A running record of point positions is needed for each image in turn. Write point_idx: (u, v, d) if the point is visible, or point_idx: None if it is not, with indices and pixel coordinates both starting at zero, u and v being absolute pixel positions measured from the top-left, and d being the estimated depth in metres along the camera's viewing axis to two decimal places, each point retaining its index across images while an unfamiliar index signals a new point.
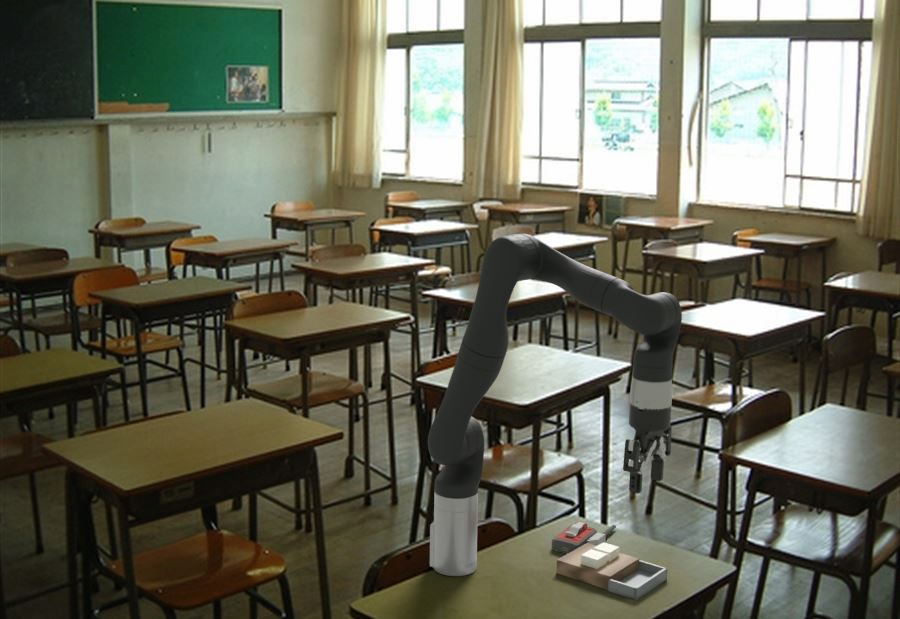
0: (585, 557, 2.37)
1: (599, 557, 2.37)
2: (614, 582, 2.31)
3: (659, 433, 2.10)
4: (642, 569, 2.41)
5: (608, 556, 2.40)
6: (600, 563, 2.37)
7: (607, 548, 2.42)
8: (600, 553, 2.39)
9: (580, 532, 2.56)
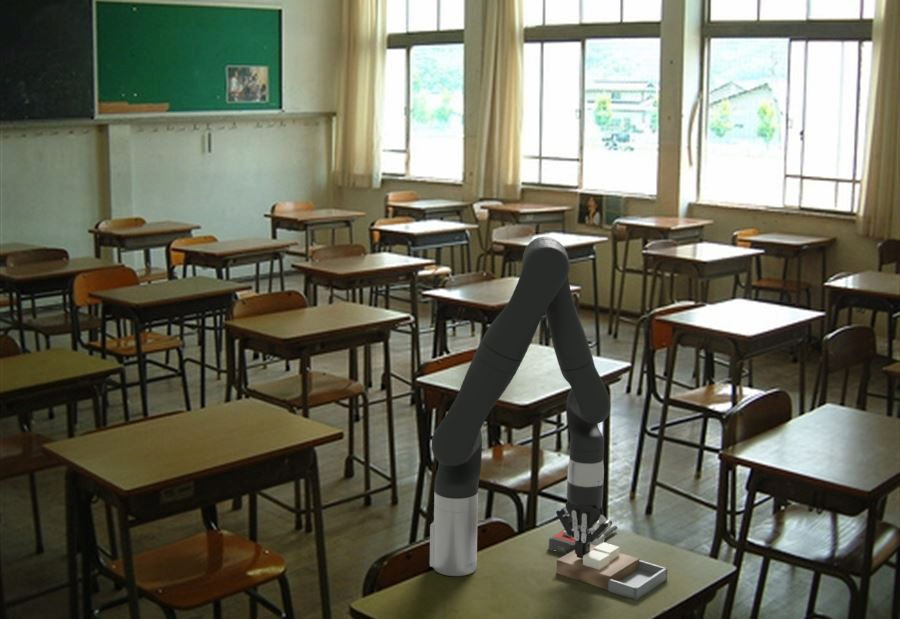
0: (587, 558, 2.37)
1: (601, 558, 2.36)
2: (614, 582, 2.31)
3: None
4: (642, 569, 2.41)
5: None
6: (602, 564, 2.36)
7: (607, 548, 2.42)
8: (602, 554, 2.39)
9: None
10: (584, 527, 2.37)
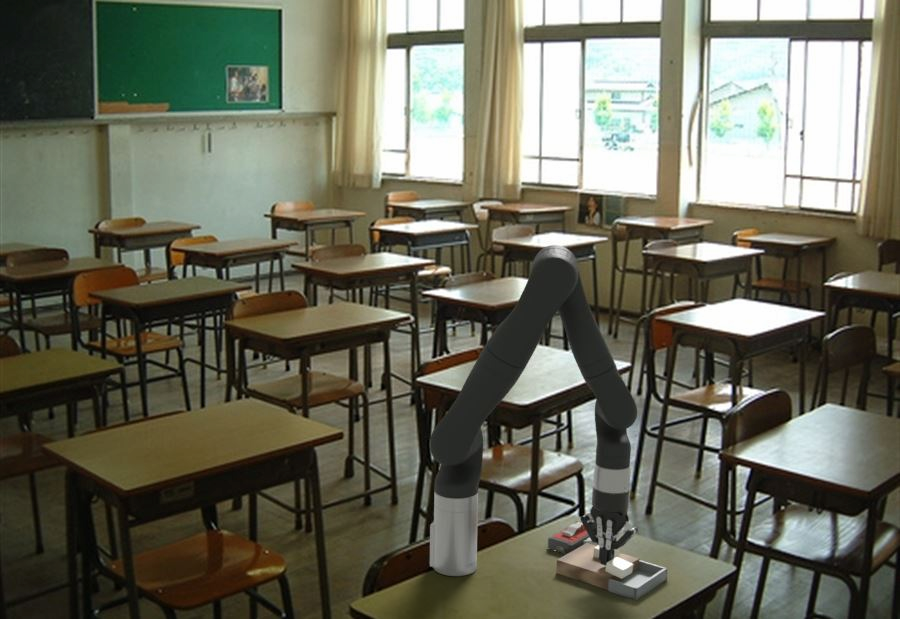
0: (611, 565, 2.33)
1: (625, 567, 2.33)
2: (614, 582, 2.31)
3: None
4: (642, 569, 2.41)
5: None
6: (625, 573, 2.33)
7: None
8: (626, 562, 2.35)
9: (578, 533, 2.56)
10: (609, 534, 2.33)
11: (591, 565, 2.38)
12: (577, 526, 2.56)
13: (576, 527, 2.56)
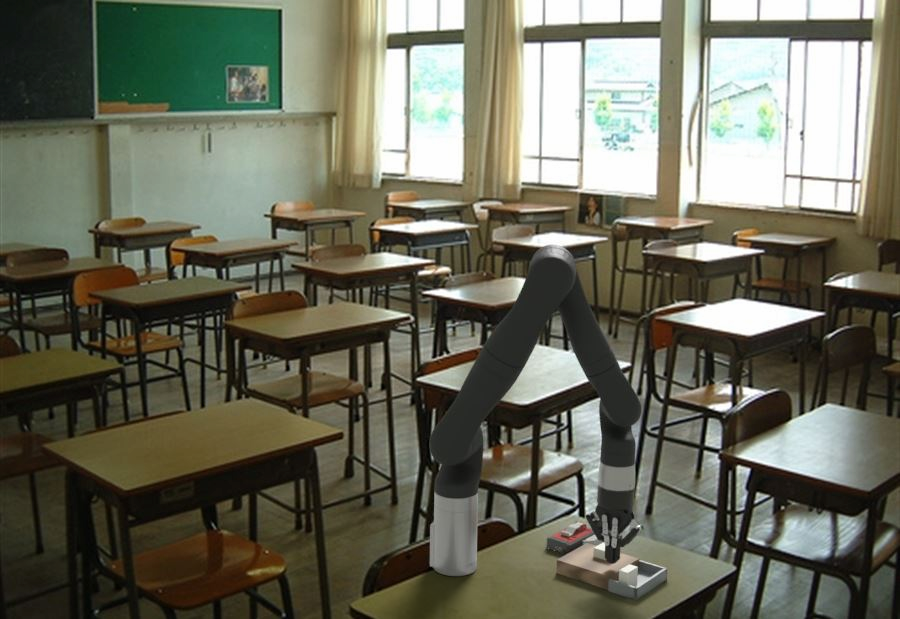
0: (626, 577, 2.31)
1: None
2: (614, 582, 2.31)
3: None
4: (642, 569, 2.41)
5: None
6: None
7: None
8: (635, 580, 2.34)
9: (577, 533, 2.56)
10: (615, 532, 2.32)
11: (591, 565, 2.38)
12: (576, 526, 2.56)
13: (575, 527, 2.56)
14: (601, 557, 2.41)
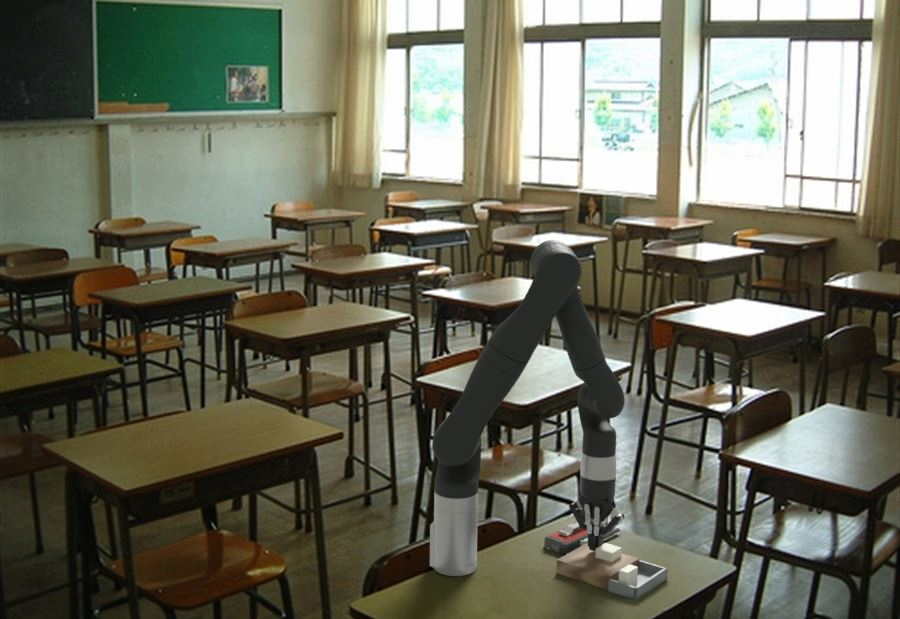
0: (626, 577, 2.31)
1: None
2: (614, 582, 2.31)
3: None
4: (642, 569, 2.41)
5: (610, 557, 2.39)
6: None
7: (609, 549, 2.41)
8: (635, 580, 2.34)
9: (575, 533, 2.56)
10: (597, 520, 2.41)
11: (591, 565, 2.38)
12: (575, 526, 2.56)
13: (574, 527, 2.56)
14: (603, 558, 2.41)
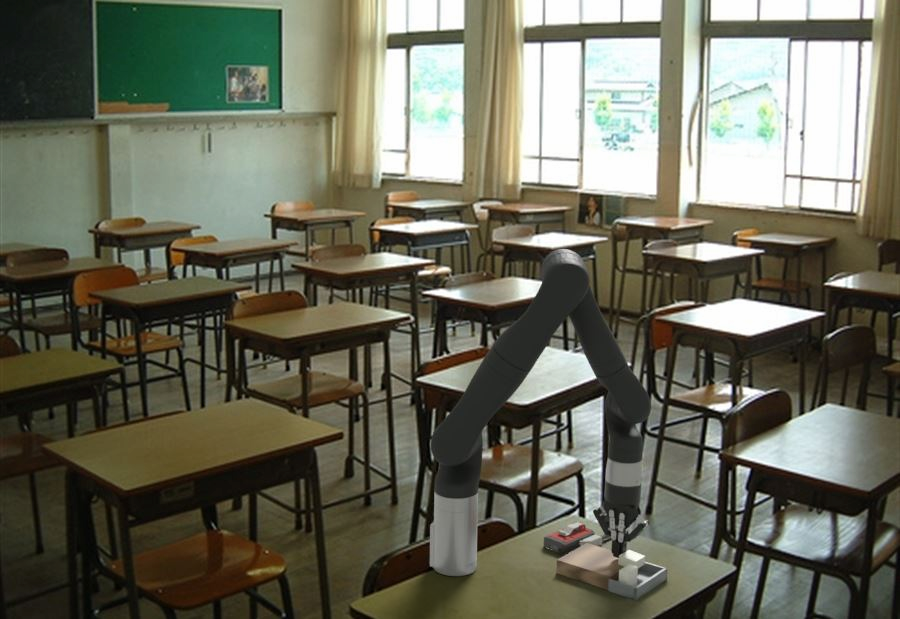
0: (626, 577, 2.31)
1: None
2: (614, 582, 2.31)
3: None
4: (642, 569, 2.41)
5: None
6: None
7: (632, 556, 2.38)
8: (635, 580, 2.34)
9: (575, 533, 2.56)
10: (621, 527, 2.37)
11: (591, 565, 2.38)
12: (574, 526, 2.56)
13: (573, 527, 2.56)
14: (626, 565, 2.37)
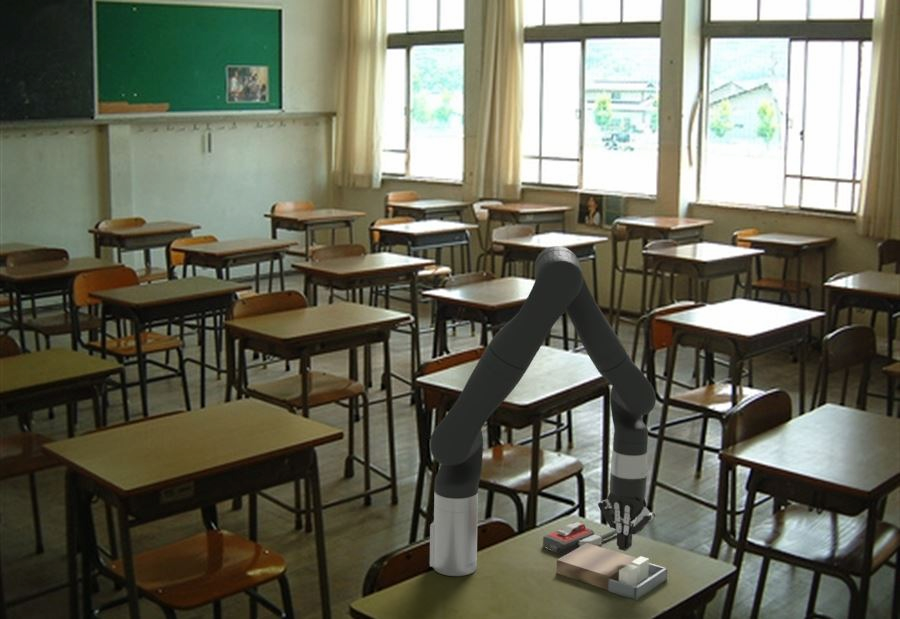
0: (626, 577, 2.31)
1: None
2: (614, 582, 2.31)
3: None
4: None
5: None
6: None
7: (642, 572, 2.36)
8: (635, 580, 2.34)
9: (574, 532, 2.56)
10: (627, 519, 2.36)
11: (591, 565, 2.38)
12: (574, 526, 2.56)
13: (573, 527, 2.56)
14: None
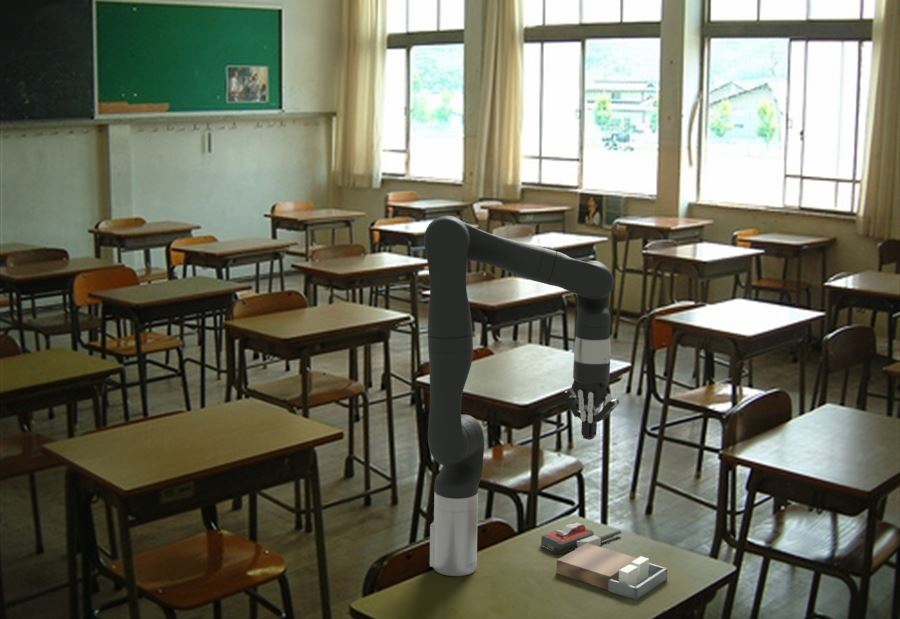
0: (626, 577, 2.31)
1: None
2: (614, 582, 2.31)
3: None
4: None
5: None
6: None
7: (642, 572, 2.36)
8: (635, 580, 2.34)
9: (573, 533, 2.56)
10: (591, 406, 2.35)
11: (591, 565, 2.38)
12: (573, 526, 2.56)
13: (572, 527, 2.56)
14: None
